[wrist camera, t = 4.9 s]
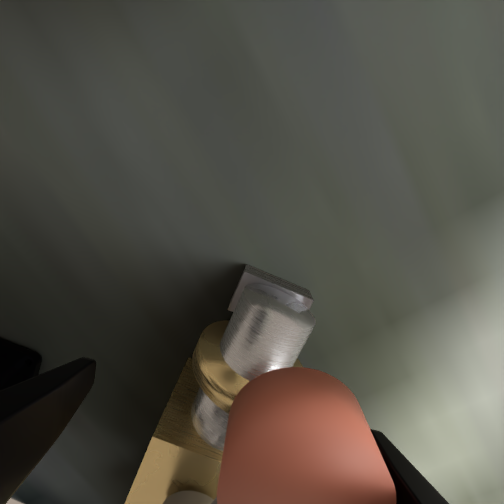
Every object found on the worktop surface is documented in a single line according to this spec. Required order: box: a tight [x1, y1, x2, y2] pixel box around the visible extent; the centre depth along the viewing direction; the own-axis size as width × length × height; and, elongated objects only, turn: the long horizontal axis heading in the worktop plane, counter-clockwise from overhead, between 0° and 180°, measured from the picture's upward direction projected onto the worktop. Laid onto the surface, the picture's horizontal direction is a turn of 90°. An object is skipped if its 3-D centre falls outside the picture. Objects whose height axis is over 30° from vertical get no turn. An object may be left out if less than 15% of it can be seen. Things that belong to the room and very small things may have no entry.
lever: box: [163, 367, 396, 504], centre depth 9 cm, size 12×4×4 cm, turn 148°
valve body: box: [125, 264, 316, 504], centre depth 15 cm, size 20×6×6 cm, turn 157°
